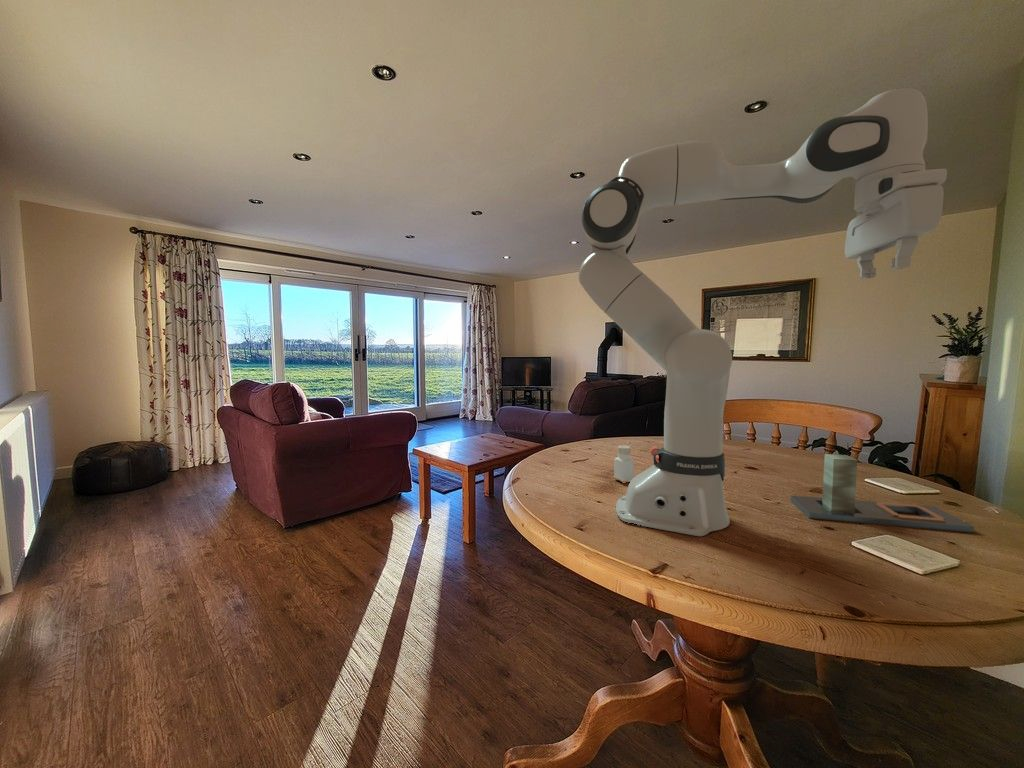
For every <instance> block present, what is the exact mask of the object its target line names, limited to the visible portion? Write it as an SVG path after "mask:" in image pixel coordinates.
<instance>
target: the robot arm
mask: <svg viewBox="0 0 1024 768" xmlns="http://www.w3.org/2000/svg"><path fill="white" fill-rule="evenodd" d="M928 115H929V113H928V104H927V102H926V98H925V96H924V95H923V93H922V92H921V91H920V90H918V89H916V88H911V87H901V88H900V87H898V88H895V89H890V90H886V91H883V92H881V93H879V94H876V95H874V96H872V98H871V97H870V99H869V100H868V101H867V102H866V103H865V104H863V105H862V106H860V107H859V108H857V109H855V110H854V111H852V112H849V113H848V114H846V115H843V116H838V117H834V118H832V119H829V120H827V121H825V122H824V123H822V124H821V125H820V126H818V127H816V128H815V130H814V131H813V132H812V133H811V134H810V135H809V136H808V137H807V139H806V140H805V141H804V142H803V144H801V146H800V148H799V149H798V150H797V151H796V152H795V153H794V154H793V155H791V156H789V158H786V159H784V160H781V161H780V162H776V163H764V164H750V165H737V164H736V165H735V164H733V163H731V162H730V161H728V160H727V159H726V156H725V154H724V152H723V150H722V149H721V148H720V147H719V146H718V145H717V144H715V142H714V143H713V142H712V141H706V140H691V141H684V142H677V143H672V144H668V145H662V146H657V147H654V148H651V149H647V150H645V151H641V152H638V153H635V154H633V155H631V156H628V157H627V158H626V159H625V160H624V161H623V162H622V163H621V166H620V167H619V171H618V174H617V176H616V177H614V178H613V179H611V180H610V181H608V182H607V183H605V184H603V185H602V186H598V188H596V189H595V190H593V192H591V193H590V195H589V196H588V197H587V198H586V200H585V202H584V205H583V208H582V212H581V223H582V227H583V232H584V236H585V239H586V242H587V244H588V246H589V249H590V252H589V254H588V256H587V257H586V258H585V259H584V260H583V262H582V264H581V266H580V267H579V271H578V281H579V284H580V285H581V286H582V288H583V290H584V291H585V292H586V294H587V295H588V296H589V297H590V299H591V300H592V301H593V302H594V304H596V305H597V307H598V308H599V309H600V310H602V312H603V313H605V315H606V316H607V317H609V318H610V319H611V320H612V321H613V322H614V323H615V324H616V325H617V326H618V327H619V328H620V329H621V330H622V331H623V332H625V333H626V335H628V336H629V337H630V338H631V339H632V340H633V342H635V343H636V344H637V345H638V346H639V347H641V349H642V350H643V351H645V353H647V355H648V356H650V357H651V359H653V360H654V362H656V363H657V364H658V365H659V367H661V368H662V369H663V370H664V371H665V372H666V385H665V386H666V389H665V399H664V400H665V401H664V402H665V403H664V411H663V414H664V415H663V416H664V417H663V447H661V448H659V447H658V446H656V445H655V446H652V447H651V448H650V455H651V456H652V457H653V465H651V466H650V467H648V468H647V469H645V470H643V471H642V472H640V473H638V474H637V475H634V478H633V479H632V480H631V481H630V483H629V484H628V485H627V489H626V493H625V495H623V496H621V497H619V499H617V501H616V503H615V513H616V512H617V514H616V516H617V515H618V516H619V517H620V518H621V519H622V520H623V521H625V522H628V523H627V524H629V523H634V524H637V525H636V526H640V525H641V527H646V528H647V527H648V528H653V529H658V530H662V531H663V530H664V531H668V532H674V533H678V534H684V535H688V536H689V535H690V536H696V537H703V536H706V535H708V534H709V533H710V532H714V531H720V530H723V529H725V528H727V527H729V525H730V523H731V520H730V517H729V514H728V510H727V505H726V499H725V493H724V480H725V476H726V458H725V453H723V437H724V435H723V430H724V428H723V427H724V426H723V425H724V413H725V412H724V411H725V406H726V401H727V395H728V394H727V393H728V389H729V382H730V380H729V379H730V373H731V372H730V371H731V367H732V363H733V353H732V350H731V347H730V345H729V343H728V342H727V341H726V340H725V338H724V337H723V336H721V334H719V333H717V332H715V331H713V330H709V329H703V328H700V327H698V326H697V325H696V324H695V323H694V322H693V321H692V320H691V319H690V318H689V317H688V316H687V315H686V313H685V312H684V311H683V310H682V309H681V308H680V307H679V306H678V305H677V302H675V301H674V299H673V298H672V297H670V295H669V294H667V293H666V292H665V291H664V290H663V289H662V288H661V287H660V286H658V285H657V284H656V282H654V281H653V280H652V279H651V278H650V277H648V276H647V274H645V273H644V272H643V271H642V270H641V269H639V268H638V266H636V265H635V264H634V263H633V262H632V261H631V260H630V258H629V256H628V253H629V251H630V250H631V248H632V246H633V244H634V241H635V239H636V236H637V235H636V234H637V231H638V229H639V227H638V226H639V219H640V217H641V216H642V215H643V214H644V213H645V212H648V211H650V210H653V209H656V208H657V207H658V208H659V207H660V208H661V207H672V206H681V205H687V204H693V203H695V204H696V203H702V202H713V201H732V200H734V201H735V200H747V199H748V200H749V199H765V198H769V199H770V198H773V199H778V200H782V201H783V200H784V201H787V202H790V203H795V204H807V203H812V202H815V201H817V200H819V199H821V198H823V197H824V196H826V195H827V194H828V193H829V192H830V191H831V190H832V189H833V188H834V187H835V186H836V185H837V184H838V183H839V182H840V181H841V180H843V178H853V179H854V181H855V183H854V201H853V202H854V204H853V210H854V211H855V212H856V215H855V218H852V219H851V220H850V221H849V223H848V226H847V230H846V235H845V236H846V237H845V242H844V243H845V245H844V256H845V259H847V260H856V263H857V266H858V268H859V270H860V273H859V278H860V279H861V280H869V279H873V278H875V277H876V275H877V267H874V262H873V261H874V260H875V255H876V254H878V253H882V252H883V251H886V250H888V249H891V248H894V247H896V248H897V250H896V252H895V256H894V258H892V259H891V269H893V270H902V269H906V268H909V267H910V266H911V260H912V256H913V254H914V252H915V250H916V248H917V245H918V241H919V240H918V239H919V237H921V236H923V235H924V236H925V235H927V234H929V233H932V232H934V231H936V229H937V228H938V226H939V224H940V222H941V220H942V219H941V218H942V214H943V208H944V207H943V204H944V187H943V184H944V183H945V182H946V180H947V176H948V170H947V168H936V169H935V168H934V169H933V168H931V169H926V162H925V159H924V149H925V146H926V144H927V142H928V133H929V132H928V129H929V127H928V126H929V125H928V124H929V120H928V119H929V116H928ZM618 516H617V517H618ZM623 521H622V522H623ZM625 522H624V523H625ZM634 524H633V525H634Z"/></svg>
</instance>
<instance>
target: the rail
mask: <svg viewBox="0 0 1024 768" xmlns="http://www.w3.org/2000/svg"><path fill="white" fill-rule="evenodd" d="M789 500H791V501H792V502H791V501H790V502H791V503H793V505H795V506H796V507H797V508H798V509H799V511H801V512H802V513H803V514H804V515H805V516H806V517H807V518H808V519H813V520H823V521H825V520H826V521H834V522H835V521H837V522H846V523H857V524H858V523H859V524H867V525H868V524H869V525H880V526H892V527H893V526H894V527H903V528H904V527H905V528H915V529H925V530H938V531H950V532H961V533H972V534H974V530H975V529H974V528H975V526H973V525H972V524H970V523H968V522H966V521H964V520H962V519H960V518H958V517H957V516H954V515H952V514H951V513H948V512H947V511H945V510H942V509H940V508H938V507H937V506H935V505H923V504H910V503H897V502H884V501H883V502H881V501H870V500H869V501H868V500H857V499H855V512H854V513H849V512H837V511H828V510H826V509H825V508H824V507H823V506H822V501H823V497H816V496H804V495H790V499H789ZM899 513H905V514H906V513H907V514H917V515H919V516H913V515H900V514H899Z"/></svg>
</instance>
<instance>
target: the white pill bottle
mask: <svg viewBox="0 0 1024 768" xmlns="http://www.w3.org/2000/svg"><path fill="white" fill-rule="evenodd" d="M617 454H618V455H617V457H615V458H614V460H613V461H614V462H613V467H614V468H613V470H614V471H613V475H614V476H613V478H614V477H616V478H618V479H620V480H621V481H627V480H632V479H633V478H634V477H635V466H634V465H635V461H634V459H633V458H631V446H629V445H624V444H623V445H618V446H617Z"/></svg>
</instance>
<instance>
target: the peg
mask: <svg viewBox="0 0 1024 768" xmlns="http://www.w3.org/2000/svg"><path fill="white" fill-rule="evenodd" d="M857 467H858V460H857V459H856V458H854V457H852V456H849V455H847V454H833V453H832V454H831V453H830V454H829V453H828V454H827V453H825V454H824V462H823V480H822V482H823V486H822V498H823V501H822V506H823V507H824V508H825V509H826V510H828V511H837V512H849V513H854V512H855V500H856V491H857V490H856V489H857V486H856V485H857V472H858V471H857V469H858V468H857Z"/></svg>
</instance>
